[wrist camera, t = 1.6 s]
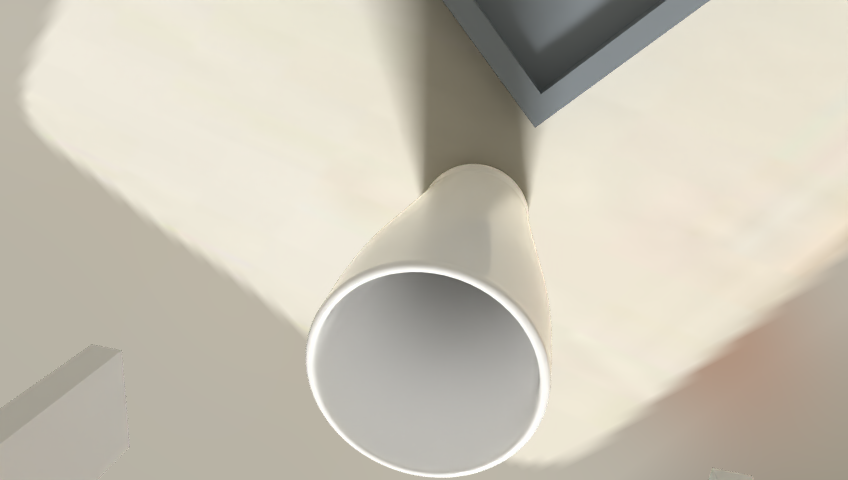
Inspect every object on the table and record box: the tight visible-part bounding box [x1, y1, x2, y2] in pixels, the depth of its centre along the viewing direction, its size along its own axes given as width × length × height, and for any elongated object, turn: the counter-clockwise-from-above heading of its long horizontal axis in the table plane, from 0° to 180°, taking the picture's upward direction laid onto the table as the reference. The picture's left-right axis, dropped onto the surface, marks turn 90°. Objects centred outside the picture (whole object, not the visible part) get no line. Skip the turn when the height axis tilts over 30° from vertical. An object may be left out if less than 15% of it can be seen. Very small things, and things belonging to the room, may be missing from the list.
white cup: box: [306, 164, 552, 478], centre depth 22 cm, size 7×7×15 cm
